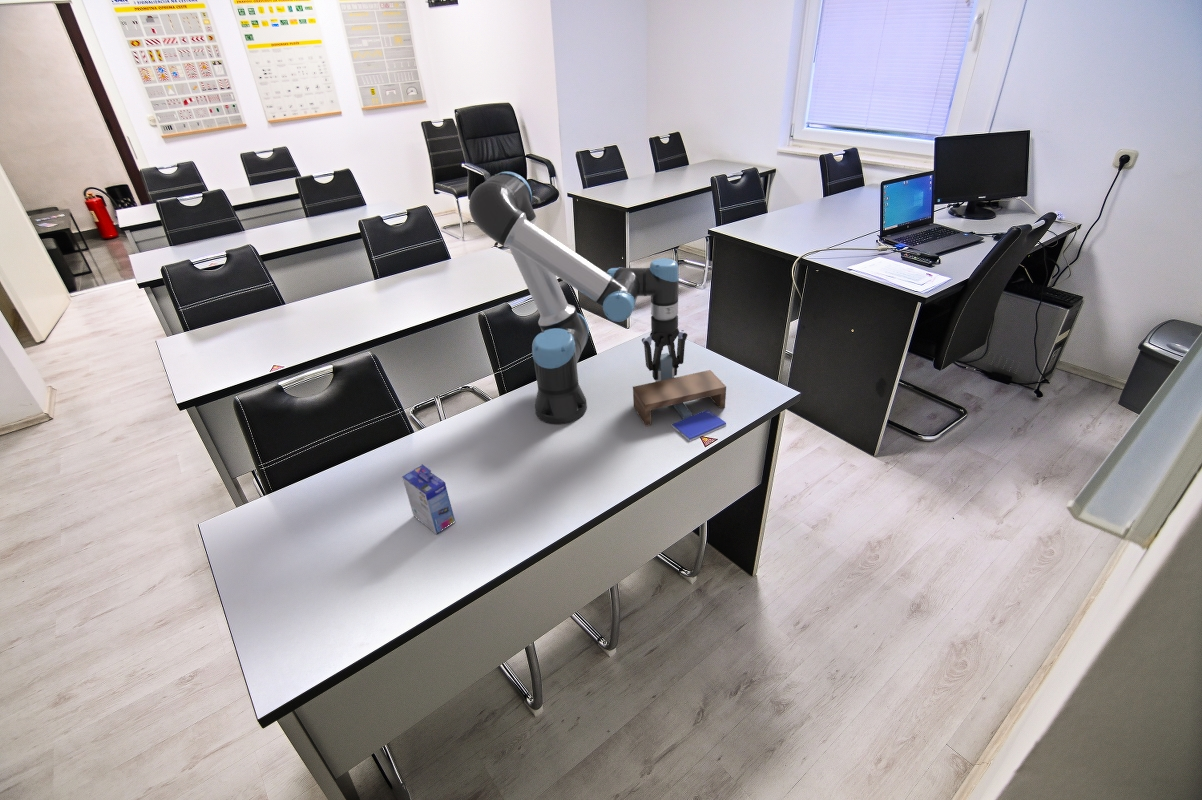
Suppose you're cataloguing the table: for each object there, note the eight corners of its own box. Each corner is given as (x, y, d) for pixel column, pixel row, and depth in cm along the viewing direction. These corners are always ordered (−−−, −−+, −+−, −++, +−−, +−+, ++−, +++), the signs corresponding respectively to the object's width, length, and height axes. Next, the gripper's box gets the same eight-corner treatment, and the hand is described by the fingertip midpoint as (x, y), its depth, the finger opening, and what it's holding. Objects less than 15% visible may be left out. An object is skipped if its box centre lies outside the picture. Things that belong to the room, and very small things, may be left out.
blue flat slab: (707, 408, 159) (671, 423, 154) (726, 422, 153) (689, 438, 148) (707, 413, 160) (671, 428, 155) (726, 427, 154) (689, 443, 149)
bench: (645, 426, 156) (645, 405, 152) (633, 407, 164) (632, 386, 160) (724, 407, 161) (726, 386, 157) (709, 390, 169) (710, 369, 165)
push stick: (681, 419, 157) (682, 386, 151) (656, 386, 172) (656, 355, 166) (693, 417, 158) (694, 383, 152) (667, 384, 173) (667, 352, 167)
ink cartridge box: (457, 521, 129) (443, 473, 122) (437, 536, 126) (422, 487, 118) (433, 503, 135) (418, 456, 127) (413, 516, 132) (396, 468, 124)
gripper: (641, 326, 153) (643, 398, 165) (697, 315, 156) (695, 386, 169) (632, 315, 159) (634, 385, 172) (686, 304, 162) (685, 374, 175)
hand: (664, 386), depth 170 cm, fingers closed on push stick, 3 cm apart
